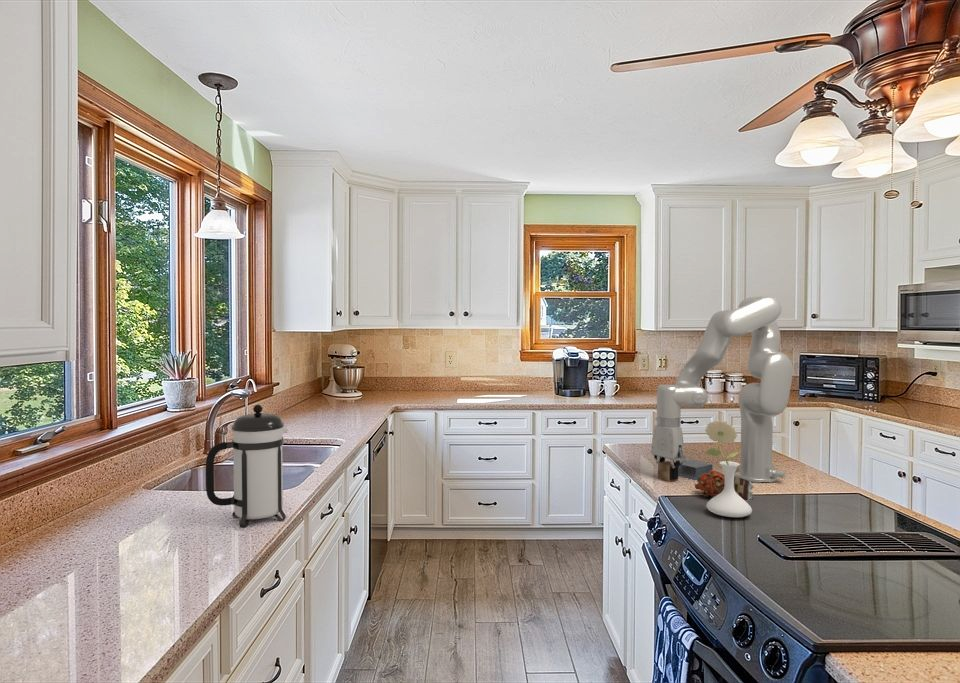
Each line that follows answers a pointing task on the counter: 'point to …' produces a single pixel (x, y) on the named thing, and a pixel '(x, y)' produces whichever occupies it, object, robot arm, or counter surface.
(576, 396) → the counter surface
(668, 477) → the block
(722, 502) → the flower in vase
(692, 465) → the gray rectangular block
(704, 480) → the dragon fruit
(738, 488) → the chocolate cake
